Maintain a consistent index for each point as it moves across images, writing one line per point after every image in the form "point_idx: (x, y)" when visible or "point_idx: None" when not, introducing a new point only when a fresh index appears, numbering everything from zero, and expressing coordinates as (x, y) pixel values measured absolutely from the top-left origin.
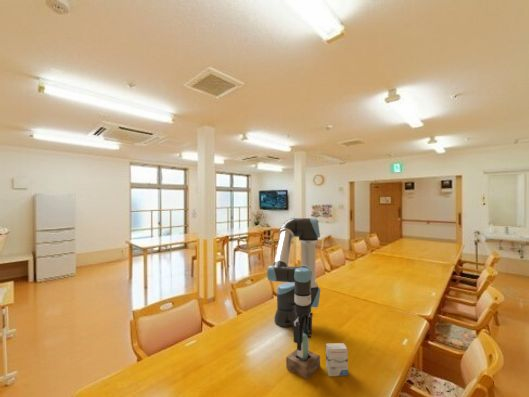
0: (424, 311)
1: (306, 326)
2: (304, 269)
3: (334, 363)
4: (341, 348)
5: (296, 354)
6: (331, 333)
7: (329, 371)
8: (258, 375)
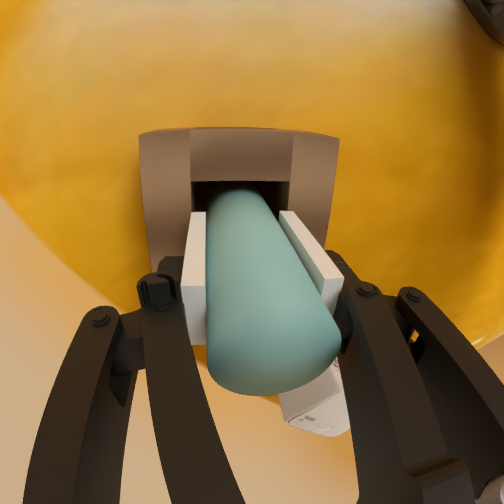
0: None
1: (360, 469)
2: None
3: None
4: (324, 434)
5: (227, 173)
6: (501, 189)
7: None
8: (26, 81)
